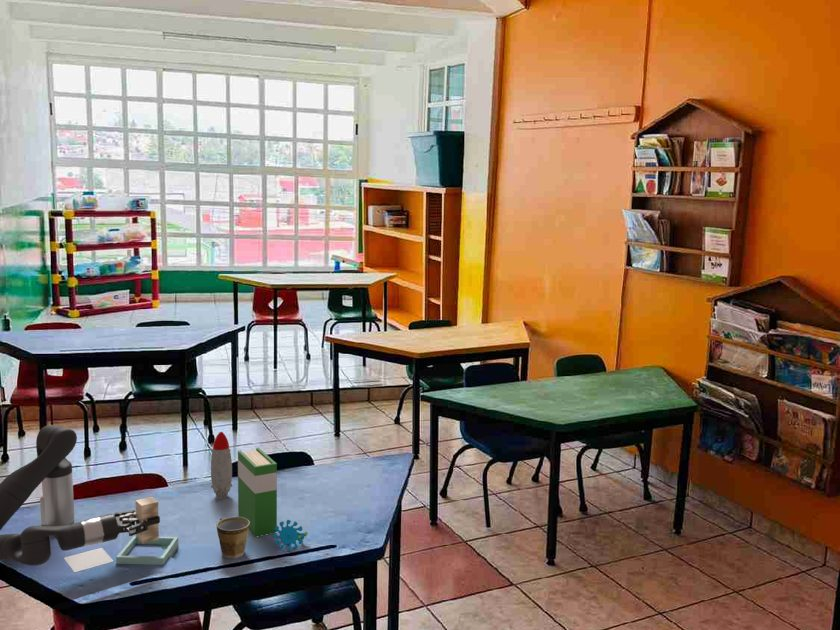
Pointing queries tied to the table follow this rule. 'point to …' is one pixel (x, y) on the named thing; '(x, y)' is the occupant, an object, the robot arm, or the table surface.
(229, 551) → the ceramic cup
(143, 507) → the birch block
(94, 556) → the white board
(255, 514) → the hardback book
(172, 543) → the tray
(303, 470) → the table surface
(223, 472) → the toy rocket
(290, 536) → the teal virus model
